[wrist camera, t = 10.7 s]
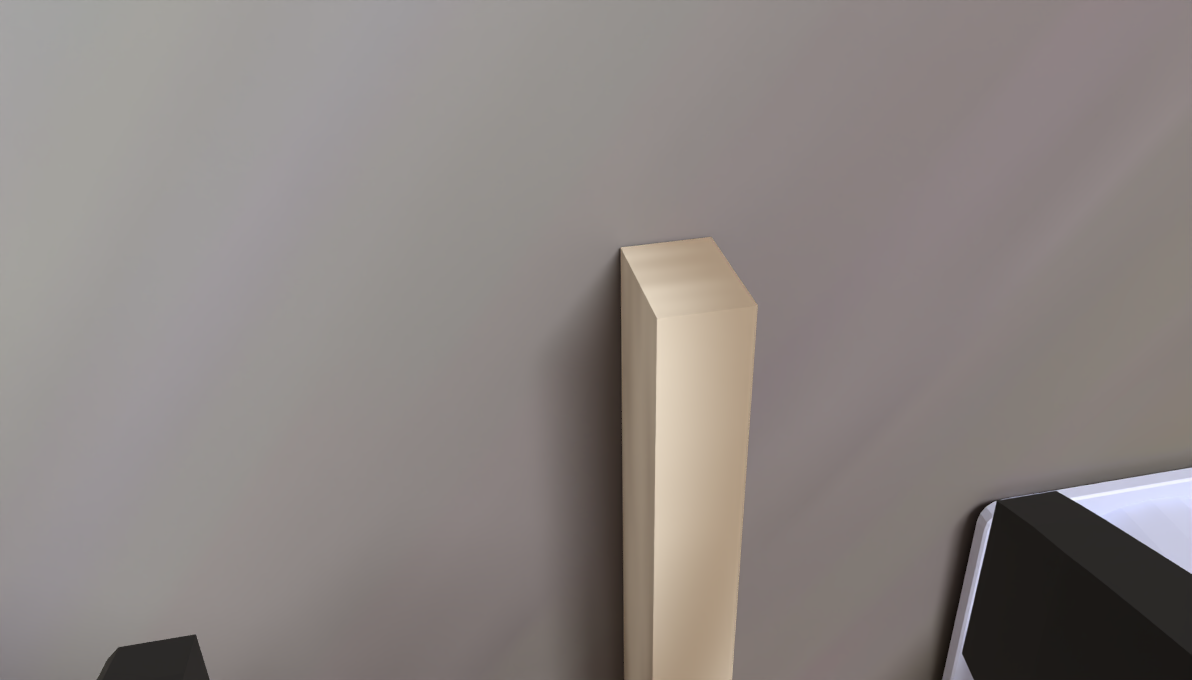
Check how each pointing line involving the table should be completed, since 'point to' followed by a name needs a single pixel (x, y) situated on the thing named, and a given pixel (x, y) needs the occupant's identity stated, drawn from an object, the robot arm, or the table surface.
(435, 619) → the table surface
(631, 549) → the gauge bed
